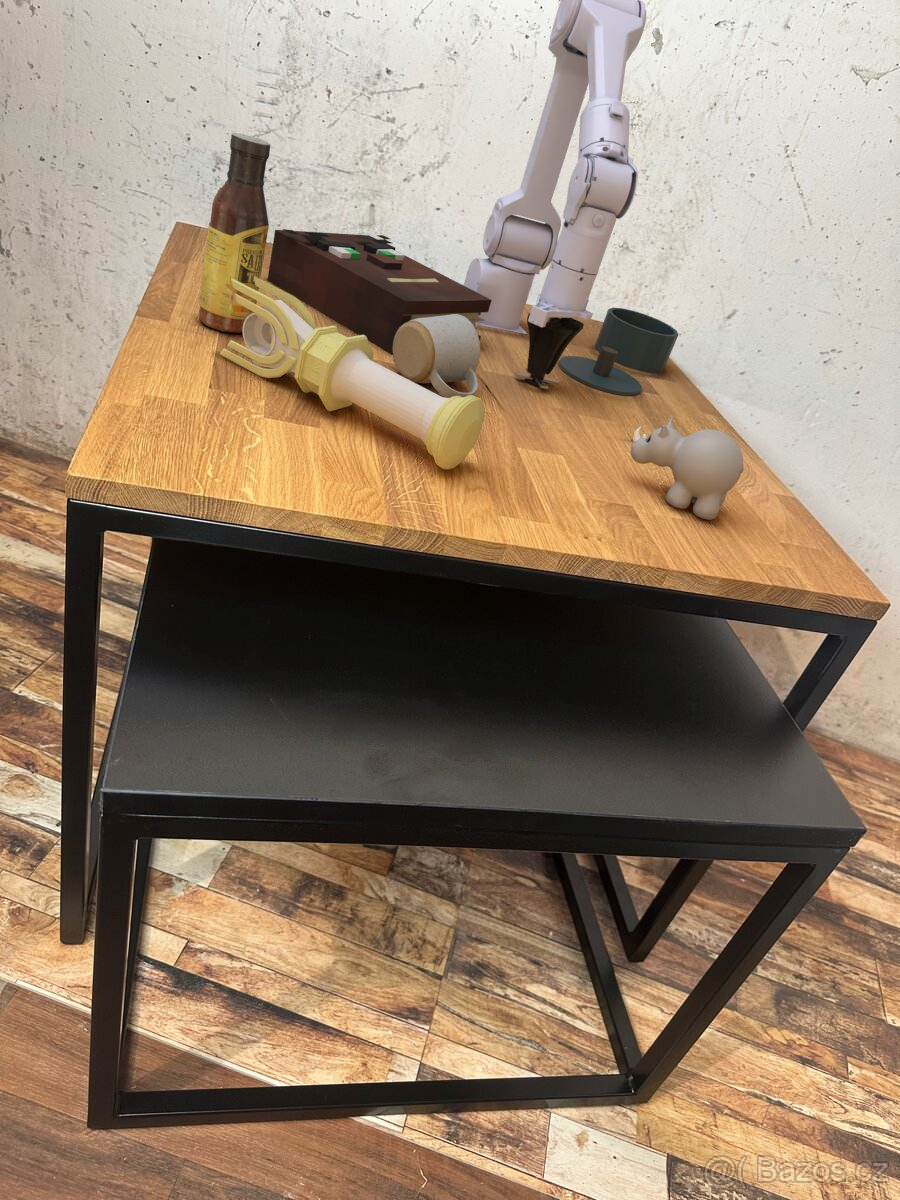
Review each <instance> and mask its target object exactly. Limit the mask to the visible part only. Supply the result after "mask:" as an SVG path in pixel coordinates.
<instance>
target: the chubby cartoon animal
mask: <svg viewBox="0 0 900 1200" xmlns="http://www.w3.org/2000/svg"><path fill="white" fill-rule="evenodd" d="M641 428H642V426H639V427H638V428H637V429H636V430H635V431H634V433H633V437H632V444H631V447H630V457H631V458H632V460H633V461H634V462H635V463H638V464H641V465H645V464H649V463H651V464H652V465H656V466H658V467H659V468H660V467H661V468H664V467H666V468H667V467H668V468H670V470H671V472H672V476H673V479H674V483H673V484H672V485H671V486H670V488H669V489H668V491H667V493H666V495H665V500H666V502H667V504H669V505H670V506H672V507H674V508H676V509H683V510H684V509H687V508H688V507H689V506H690V504H691V503H693V506H692V513H693V514H694V515H695V516H696V517H698V518H700V519H704V520H711V521H712V520H714V519H716V518H717V516H718V514H719V512H720V507H722V505H723V504H724V503H725V500H726V497H727V493H728V492H729V491H730V490H732V489H733V488H734V487H735V486H736V484H737V483H738V482H739V479H740V477H741V475H742V474H743V472H744V471H745V467H744V456H743V453H742V450H741V447H740V446H739V444H738V442H737V441H736V440H735V439H734V438H733V437H732V436H731V435H729V434H727V433H726V432H724V431H722V430H718V429H711V428H709V429H708V428H706V429H700V430H696V431H694V432H692V433H690V434H688V435H686V436H683V435H682V434H681V433H680V432H679V431H678V430H677V429H675V428H674V420H673V418H670V419H668V421H667V424H666V425H665V424H662V425H661V427H658V428H656V429H655V430H653V431H652V432H651V433H650V434H648V435H647V434H646V433H643V434H642V436H641Z"/></svg>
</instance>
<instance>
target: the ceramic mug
mask: <svg viewBox="0 0 900 1200" xmlns="http://www.w3.org/2000/svg"><path fill="white" fill-rule="evenodd" d="M478 335H479V334H478V332H477V329H476V327H475V328H474V326H473V324H472V323H471V322H470V321H469V320H468V319H467V318H466V317H464V316H462V315H459V314H451V315H444V316H435V317H426V318H417V319H414V320H411V321H408V322H406V323H404V324H403V325H402V326H401V327H400V328H399V329H398V331H397V332H396V334H395V337H394V341H393V354H392V357H393V361H394V364H395V367H396V369H397V370H398V372H399V373H400V374H399V375H400V376H402V377H404V378H406V379H408V380H410V381H412V382H414V383H416V384H431V385H432V386H433V388H434V389H435V390H436V391H437V393H438V394H440V396H441V397H445V398H451V397H453V396H461V397H466V396H469V395H473V396H475V394H476V393H477V391H478V379H477V376H476V373H475V371H476V370H477V367H478V365H479V363H480V359H481V342H480V341H479V337H478ZM463 381H466V383H467V385H468V386H467V387H468V389H469V392H462V391H457V390H456V389H454V388H451V387H450V386H449V385H448V384H447V383H458V382H463Z"/></svg>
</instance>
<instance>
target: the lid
mask: <svg viewBox="0 0 900 1200" xmlns="http://www.w3.org/2000/svg"><path fill="white" fill-rule="evenodd" d="M617 354H618V352H617V351H616V350H614V349H612V348H609V347H602V348H601V350H600V353H599V352H598V356H597V359H592V358H589V357H585V356H576V355H566V356H562V357H560V358H559V360H558V366H559V369H560V370H561V371H562V372H563V373H565V374H566V375H567V376H569V377H570V378H572V379H573V380H575V381H576V382H579V383H581V384H584V385H586V386H588V387H591V388H593V389H596V390H599V391H601V392H604V393H609V394H613V395H619V396H628V397H629V396H637V395H639V394H640V393H641V391H642V390H643V388H642V384H641V383H640V382H639V380H637V379H636V378H635V377H634V376H632V375H631V374H630V373H627V372H626V371H624V370H622V369H620V368H618V367H616V366H614V365H615V363H616V362H615V359H616V357H617Z"/></svg>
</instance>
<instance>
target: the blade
mask: <svg viewBox="0 0 900 1200" xmlns="http://www.w3.org/2000/svg"><path fill="white" fill-rule="evenodd" d="M524 370H525V372H527V367H525V369H524ZM546 375H547V374H546V373H545V375H544V376H543V377H542V378H540V377H537V376H535V375H533V374H531V373H529V372H527V373H524V372H517V371H515V372H514V376H515V377H516V378H519V379H523V381H524V382H525V383H526V384H528V385H529V386H532V387H535V388H539V389H545V390H549V386H548V383H549V384H553V385H554V384H555V385H559V381H558V380H557V379H556V378H552V377H546Z"/></svg>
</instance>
